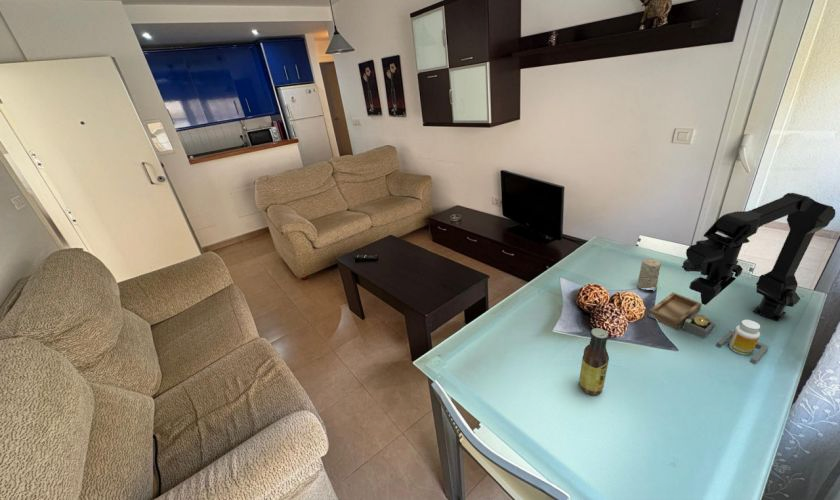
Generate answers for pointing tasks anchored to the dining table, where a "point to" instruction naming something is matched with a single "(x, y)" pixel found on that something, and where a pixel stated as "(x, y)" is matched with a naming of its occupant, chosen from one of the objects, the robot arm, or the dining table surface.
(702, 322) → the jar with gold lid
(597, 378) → the sauce bottle
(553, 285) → the dining table surface
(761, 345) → the grey angular frames
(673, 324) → the brown wooden tray
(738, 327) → the supplement bottle
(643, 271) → the carving
